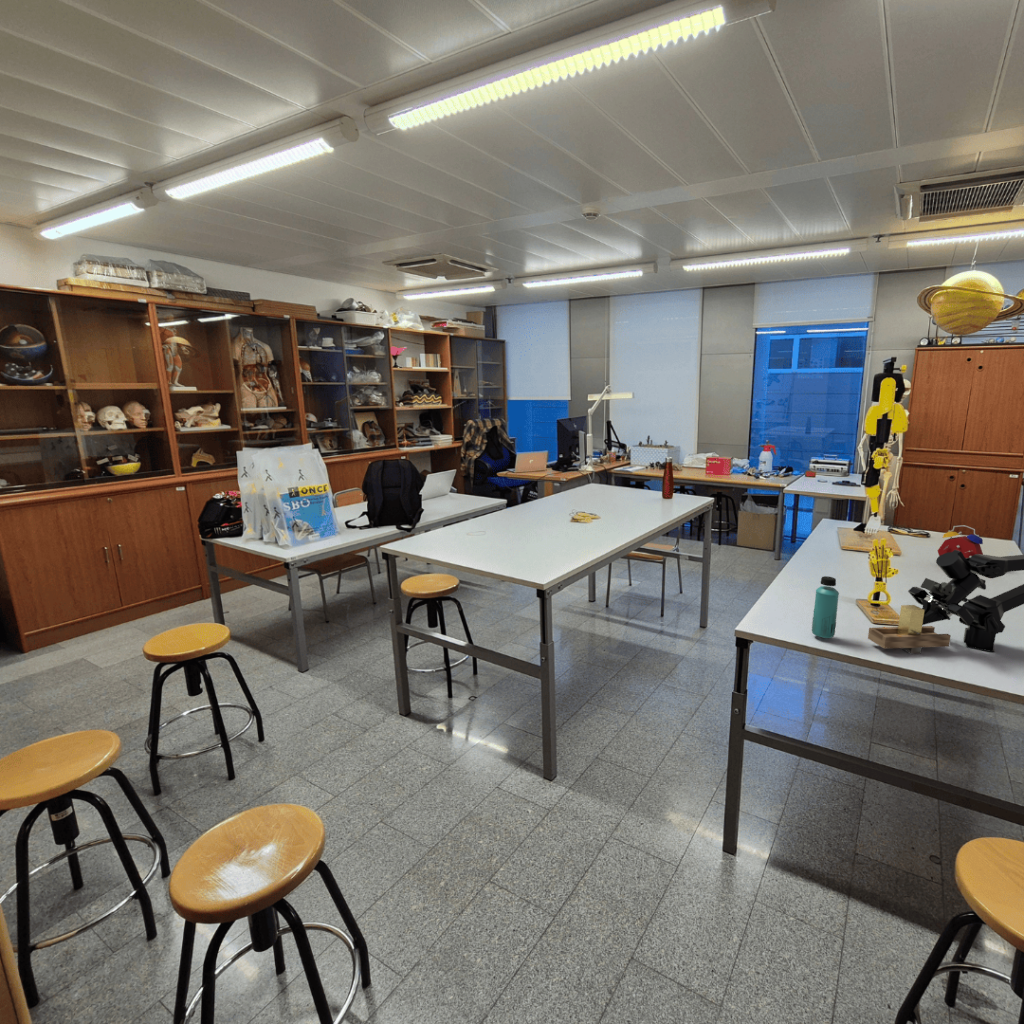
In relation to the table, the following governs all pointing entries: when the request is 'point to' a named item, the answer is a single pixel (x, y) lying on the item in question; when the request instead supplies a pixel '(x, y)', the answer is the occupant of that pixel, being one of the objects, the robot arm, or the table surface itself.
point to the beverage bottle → (825, 609)
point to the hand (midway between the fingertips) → (917, 624)
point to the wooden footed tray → (908, 639)
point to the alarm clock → (961, 543)
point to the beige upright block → (910, 620)
